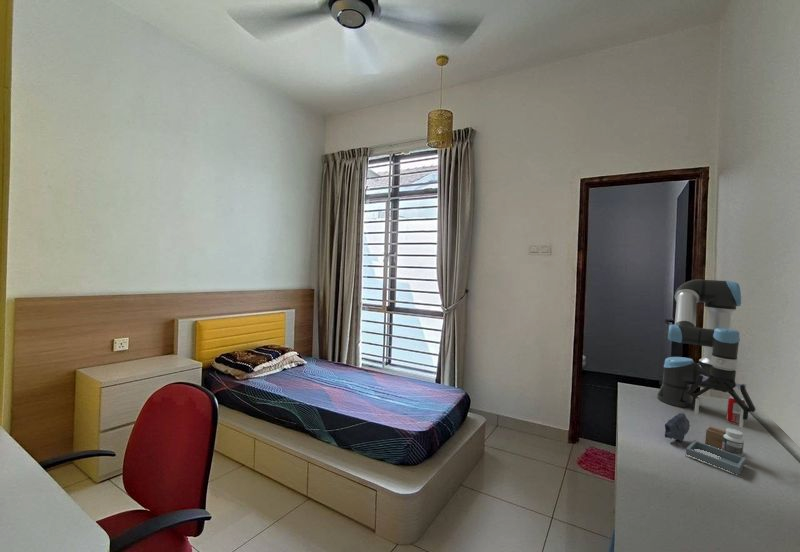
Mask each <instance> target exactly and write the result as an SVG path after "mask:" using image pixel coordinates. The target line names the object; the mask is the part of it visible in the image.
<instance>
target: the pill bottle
mask: <svg viewBox="0 0 800 552" xmlns="http://www.w3.org/2000/svg"><path fill="white" fill-rule="evenodd" d="M725 431H726V434H724V436H723V444H722V450H724V451H727V452H729V453H732V454H735V455H738V456H741V457H743V455H744V453H743V452H744V443H745V440H744V439H743V436H744V434H743V432H742V431H740V430H738V429H734V428H730V427H727V428H725Z"/></svg>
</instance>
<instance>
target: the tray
mask: <svg viewBox="0 0 800 552" xmlns="http://www.w3.org/2000/svg"><path fill="white" fill-rule="evenodd" d="M694 449H700V450H704V451H707V452H710V453H712V454H715V455H717V456H720V457H721V459H720V457H719V459H716V458H714V457H711V456H708V455H705V454H703V453H700V452H697V451H695V450H694ZM686 454H687V455H690V456H692V457H695V458H697V459H700V460H702V461H705V462H707V463H710V464H712V465H715V466H717V467H720V468H723V469H725V470H728V471H730V472H732V473H734V474H737V475H739V476H740V474H741V473H742V471H743V470H742V468H743V467H744V468H745V466H746V457H743V456H742V457H741V456H738V455H735V454H732V453H729V452H727V451H724V450H721V449H718V448H715V447H712V446H709V445H707V444H705V442H704V443H703V442H701V441H697V440H693V441H692V442H691V443H690V444H689V445H688V446H687V447H686V450H685V455H686ZM717 458H718V457H717ZM744 465H745V466H744ZM744 468H743V469H744ZM741 470H742V471H741ZM740 472H741V473H740ZM739 473H740V474H739ZM734 474H733V475H734Z"/></svg>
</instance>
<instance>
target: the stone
mask: <svg viewBox="0 0 800 552" xmlns="http://www.w3.org/2000/svg"><path fill="white" fill-rule="evenodd" d="M688 419H689V418H687V416H686V414H685V413H684V412H683V413H682V412H679V413H678V414H677V415H675V416H673V417H671V418H670V419H668V421H667V422H666V423H665V424H664V428H665V431H664V438H665V439H666V438H668V439H671V440H672V439H673V440H676V441H677V442H680V443H681V442H683V440H685V436H686V435H687V434H688V432H689V430H690V427H691V425H690V420H688Z"/></svg>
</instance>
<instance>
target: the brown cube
mask: <svg viewBox="0 0 800 552" xmlns="http://www.w3.org/2000/svg"><path fill="white" fill-rule="evenodd" d="M724 434H726V429H725V430H724V429H722V428H719V427H715V426H712V425H710V426H709V427H708V428H707V429H706V432H705V440H704V441H705V442H704V444H707V445H710V446H712V447H715V448H719V449H722V444H723V436H724Z"/></svg>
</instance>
